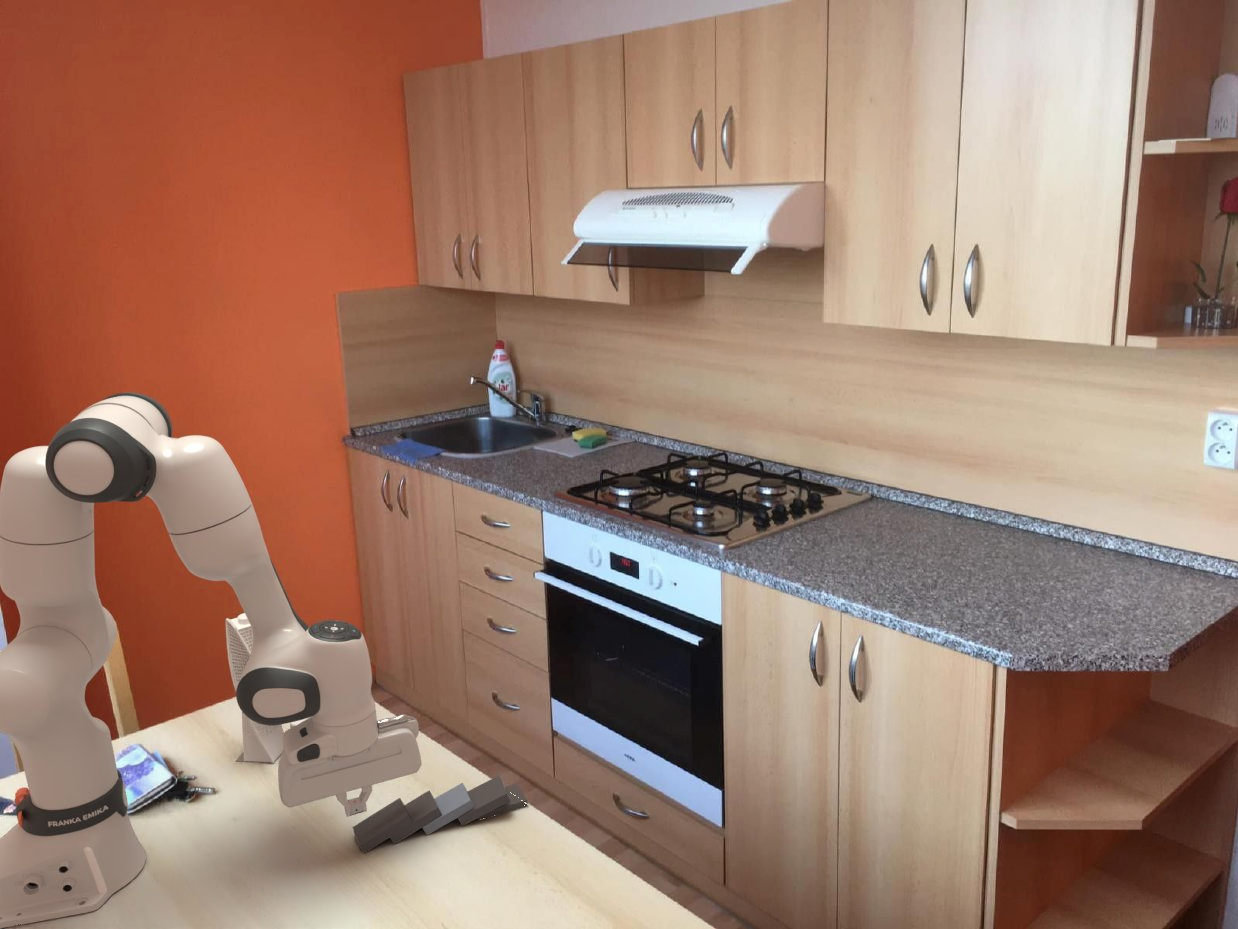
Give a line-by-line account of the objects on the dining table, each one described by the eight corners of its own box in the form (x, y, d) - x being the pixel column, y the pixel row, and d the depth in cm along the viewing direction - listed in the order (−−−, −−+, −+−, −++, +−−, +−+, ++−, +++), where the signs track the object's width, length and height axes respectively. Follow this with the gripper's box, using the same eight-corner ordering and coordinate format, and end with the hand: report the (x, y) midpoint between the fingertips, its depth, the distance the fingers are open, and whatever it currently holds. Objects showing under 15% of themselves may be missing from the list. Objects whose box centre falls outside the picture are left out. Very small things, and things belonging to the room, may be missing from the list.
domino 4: (458, 818, 157) (506, 793, 158) (453, 798, 161) (499, 775, 163) (462, 826, 158) (510, 801, 159) (457, 806, 162) (503, 782, 163)
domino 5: (478, 814, 159) (527, 800, 162) (468, 797, 163) (516, 783, 166) (478, 823, 159) (527, 809, 162) (469, 805, 163) (517, 792, 167)
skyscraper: (300, 743, 182) (280, 597, 175) (279, 769, 175) (257, 617, 167) (255, 741, 184) (233, 595, 176) (232, 766, 176) (209, 615, 168)
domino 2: (389, 837, 153) (438, 807, 156) (382, 818, 158) (429, 790, 160) (394, 844, 154) (442, 815, 156) (386, 826, 158) (433, 797, 161)
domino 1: (359, 846, 152) (407, 815, 154) (352, 827, 156) (399, 797, 158) (363, 853, 152) (412, 823, 154) (357, 834, 157) (404, 805, 159)
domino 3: (422, 827, 155) (470, 800, 157) (415, 809, 160) (462, 782, 162) (426, 835, 156) (474, 808, 158) (420, 816, 160) (466, 790, 162)
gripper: (411, 701, 156) (419, 782, 160) (270, 736, 147) (282, 820, 151) (422, 721, 150) (430, 803, 154) (276, 758, 142) (289, 844, 146)
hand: (356, 812), depth 153 cm, fingers closed
